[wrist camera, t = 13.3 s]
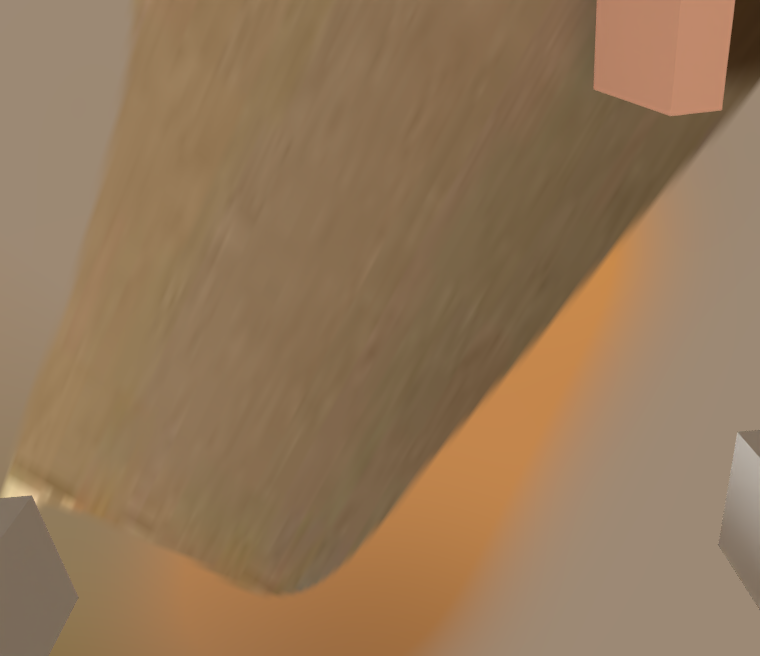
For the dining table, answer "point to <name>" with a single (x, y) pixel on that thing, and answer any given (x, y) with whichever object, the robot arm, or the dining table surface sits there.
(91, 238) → the dining table surface
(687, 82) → the stub
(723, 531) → the robot arm
